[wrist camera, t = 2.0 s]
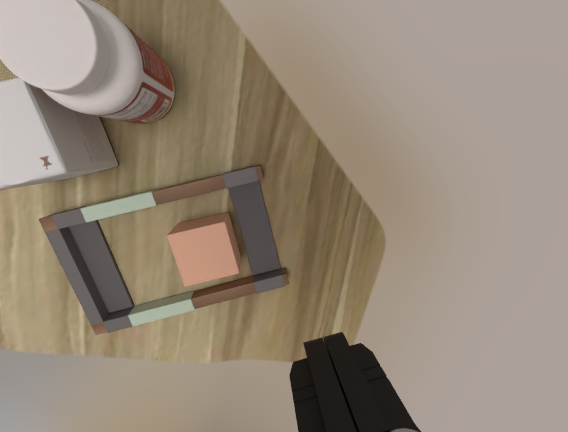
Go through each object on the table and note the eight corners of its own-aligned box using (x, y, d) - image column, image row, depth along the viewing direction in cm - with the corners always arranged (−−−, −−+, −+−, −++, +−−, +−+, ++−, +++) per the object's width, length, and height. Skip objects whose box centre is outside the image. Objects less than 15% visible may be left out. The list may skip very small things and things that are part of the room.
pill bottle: (104, 37, 22) (-38, -68, 11) (181, 58, 23) (118, -20, 12) (98, 115, 23) (-33, 87, 13) (171, 132, 24) (107, 119, 14)
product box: (94, 97, 23) (23, 74, 16) (121, 166, 25) (68, 174, 17) (21, 112, 23) (-84, 96, 16) (53, 182, 24) (-28, 196, 17)
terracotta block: (179, 222, 26) (166, 235, 23) (228, 211, 27) (224, 221, 23) (194, 267, 28) (184, 286, 24) (241, 256, 28) (239, 273, 24)
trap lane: (50, 214, 25) (37, 218, 23) (259, 164, 26) (260, 165, 24) (104, 325, 28) (95, 336, 27) (287, 277, 29) (289, 284, 28)
